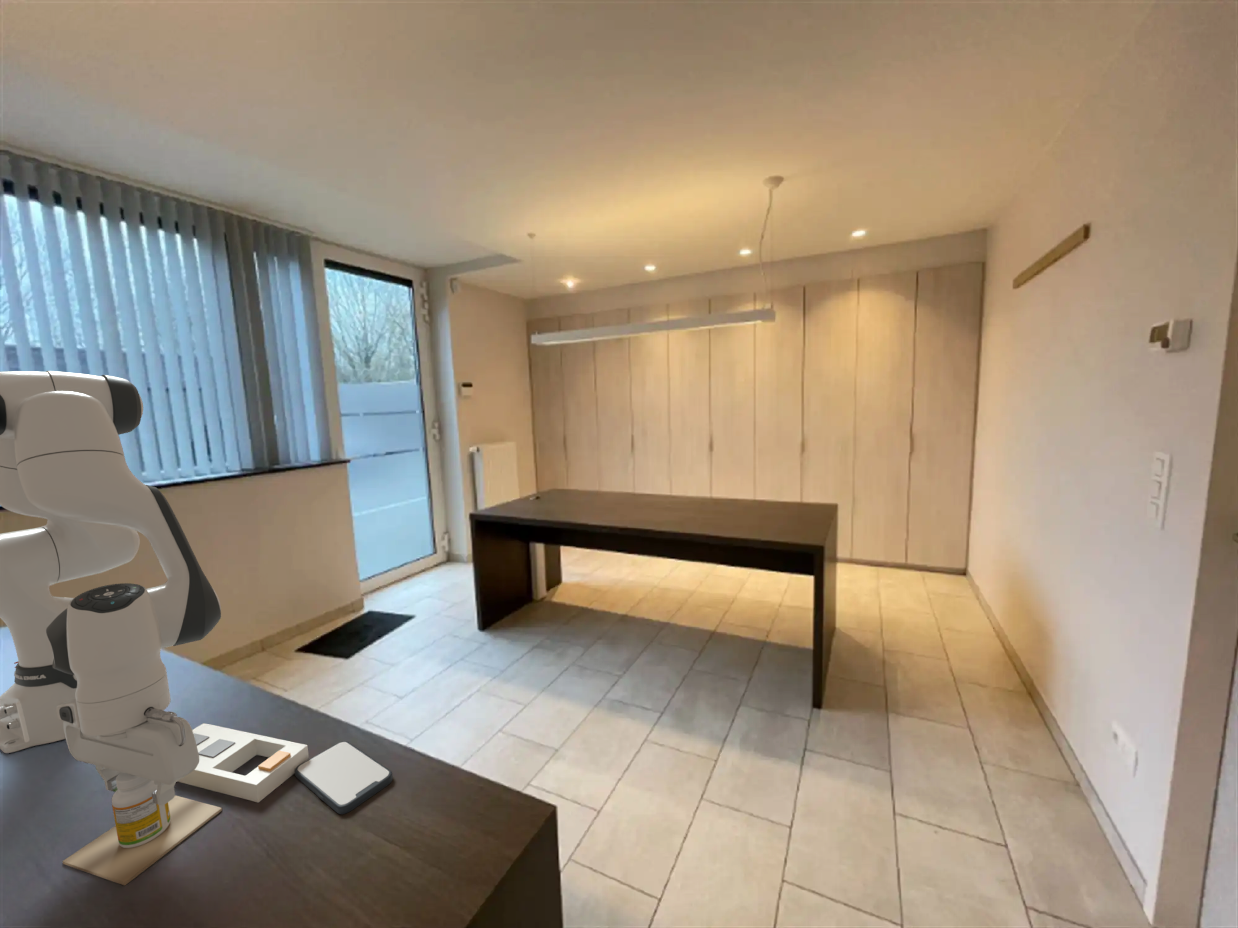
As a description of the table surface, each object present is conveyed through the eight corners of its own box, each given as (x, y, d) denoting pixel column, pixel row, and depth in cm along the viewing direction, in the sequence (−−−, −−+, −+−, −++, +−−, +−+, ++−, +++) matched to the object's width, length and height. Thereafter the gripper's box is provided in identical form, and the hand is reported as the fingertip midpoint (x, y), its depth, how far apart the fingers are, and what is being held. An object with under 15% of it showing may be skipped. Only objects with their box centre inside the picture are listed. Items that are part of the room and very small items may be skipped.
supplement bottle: (142, 818, 73) (132, 758, 71) (181, 814, 73) (171, 755, 72) (107, 851, 67) (96, 787, 66) (149, 847, 68) (139, 783, 66)
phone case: (291, 777, 81) (341, 820, 72) (290, 768, 81) (340, 810, 72) (345, 746, 89) (396, 781, 80) (345, 737, 89) (396, 772, 80)
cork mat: (62, 863, 66) (62, 860, 66) (165, 794, 77) (164, 792, 77) (124, 885, 63) (124, 882, 63) (222, 810, 74) (221, 807, 74)
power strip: (148, 773, 82) (145, 754, 81) (205, 737, 91) (203, 720, 90) (258, 802, 76) (255, 781, 75) (309, 760, 84) (307, 742, 84)
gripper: (206, 700, 68) (218, 791, 70) (105, 680, 73) (118, 765, 75) (152, 730, 62) (167, 828, 63) (46, 706, 67) (63, 797, 69)
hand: (140, 794), depth 69 cm, fingers open, 8 cm apart
